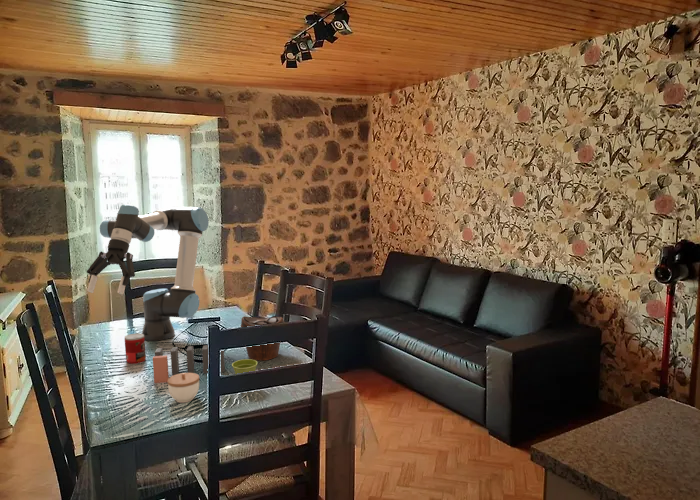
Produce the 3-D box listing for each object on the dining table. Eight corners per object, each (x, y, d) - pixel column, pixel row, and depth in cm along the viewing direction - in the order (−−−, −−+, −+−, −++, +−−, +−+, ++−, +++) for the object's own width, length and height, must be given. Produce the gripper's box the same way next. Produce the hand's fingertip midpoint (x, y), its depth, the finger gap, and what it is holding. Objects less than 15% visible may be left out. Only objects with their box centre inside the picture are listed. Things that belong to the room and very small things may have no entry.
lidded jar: (170, 407, 181) (168, 381, 179) (167, 395, 190) (165, 370, 189) (202, 402, 185) (201, 376, 183) (198, 390, 194) (196, 366, 193)
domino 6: (219, 367, 217) (218, 344, 215) (224, 367, 217) (223, 344, 216) (218, 372, 212) (217, 348, 211) (223, 372, 212) (222, 348, 211)
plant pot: (236, 392, 192) (235, 369, 191) (230, 383, 201) (229, 361, 199) (261, 387, 197) (260, 365, 195) (254, 379, 205) (253, 357, 204)
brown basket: (295, 354, 232) (293, 314, 230) (258, 366, 218) (256, 324, 215) (269, 346, 244) (267, 308, 242) (233, 357, 230) (230, 317, 227)
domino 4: (189, 370, 215) (188, 346, 214) (194, 369, 215) (193, 346, 214) (187, 374, 210) (186, 350, 209) (193, 374, 210) (191, 350, 209)
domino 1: (158, 372, 213) (157, 348, 212) (163, 371, 213) (162, 347, 212) (156, 376, 208) (154, 352, 207) (161, 376, 209) (159, 352, 207)
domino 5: (204, 369, 216) (203, 345, 215) (209, 368, 216) (208, 345, 215) (203, 373, 211) (202, 349, 210) (208, 373, 211) (207, 349, 210)
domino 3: (174, 371, 214) (172, 347, 213) (179, 370, 214) (177, 346, 213) (172, 375, 209) (170, 351, 208) (177, 375, 209) (175, 351, 208)
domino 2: (154, 383, 202) (152, 358, 200) (155, 381, 204) (153, 356, 202) (167, 382, 203) (166, 357, 201) (168, 380, 205) (167, 355, 203)
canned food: (139, 364, 222) (137, 339, 220) (122, 363, 223) (120, 338, 222) (149, 358, 229) (148, 333, 228) (133, 357, 231) (131, 332, 229)
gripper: (87, 237, 211) (71, 288, 203) (141, 238, 205) (127, 291, 197) (99, 244, 218) (84, 293, 210) (152, 246, 211) (138, 297, 204)
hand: (104, 292), depth 204 cm, fingers open, 13 cm apart
